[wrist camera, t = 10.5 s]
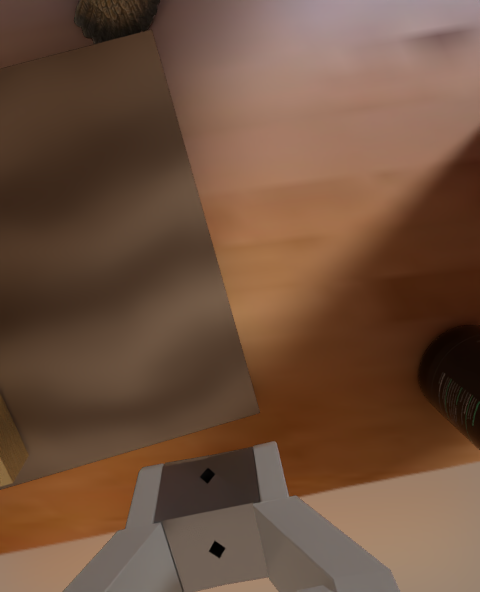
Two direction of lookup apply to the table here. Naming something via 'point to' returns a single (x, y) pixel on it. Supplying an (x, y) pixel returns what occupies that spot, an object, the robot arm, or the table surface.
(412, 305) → the table surface
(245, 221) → the table surface
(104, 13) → the eagle figurine
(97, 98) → the walnut base plate
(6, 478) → the brass link
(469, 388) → the supplement bottle
